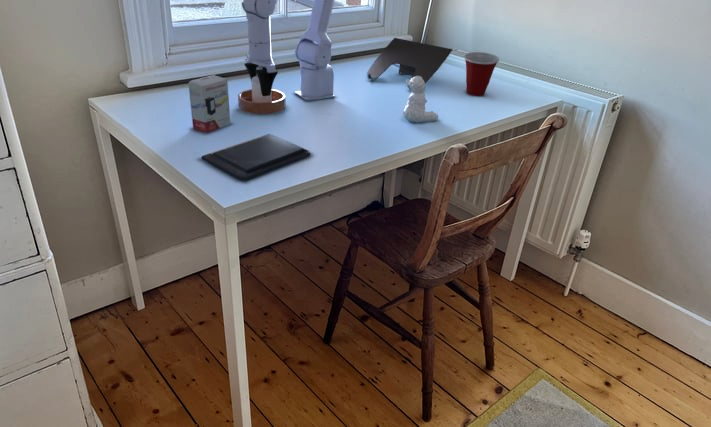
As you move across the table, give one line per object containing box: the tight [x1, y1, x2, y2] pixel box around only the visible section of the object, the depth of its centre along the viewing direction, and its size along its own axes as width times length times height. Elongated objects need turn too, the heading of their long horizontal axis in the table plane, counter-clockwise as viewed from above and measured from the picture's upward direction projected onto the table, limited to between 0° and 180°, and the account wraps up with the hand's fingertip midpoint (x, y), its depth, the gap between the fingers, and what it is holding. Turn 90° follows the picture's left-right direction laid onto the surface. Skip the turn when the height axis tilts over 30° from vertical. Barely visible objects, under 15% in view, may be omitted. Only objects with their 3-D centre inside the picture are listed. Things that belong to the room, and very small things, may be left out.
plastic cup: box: [463, 51, 500, 97], centre depth 162 cm, size 11×11×12 cm
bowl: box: [237, 88, 287, 115], centre depth 141 cm, size 13×13×4 cm
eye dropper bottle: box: [250, 65, 273, 103], centre depth 139 cm, size 4×6×12 cm
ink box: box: [188, 74, 231, 134], centre depth 125 cm, size 9×5×12 cm, turn 148°
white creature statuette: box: [402, 76, 439, 123], centre depth 138 cm, size 10×9×12 cm
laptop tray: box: [366, 37, 454, 92], centre depth 173 cm, size 23×23×9 cm
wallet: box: [201, 133, 311, 182], centre depth 113 cm, size 20×2×15 cm
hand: (261, 92), depth 140 cm, fingers closed on eye dropper bottle, 5 cm apart
